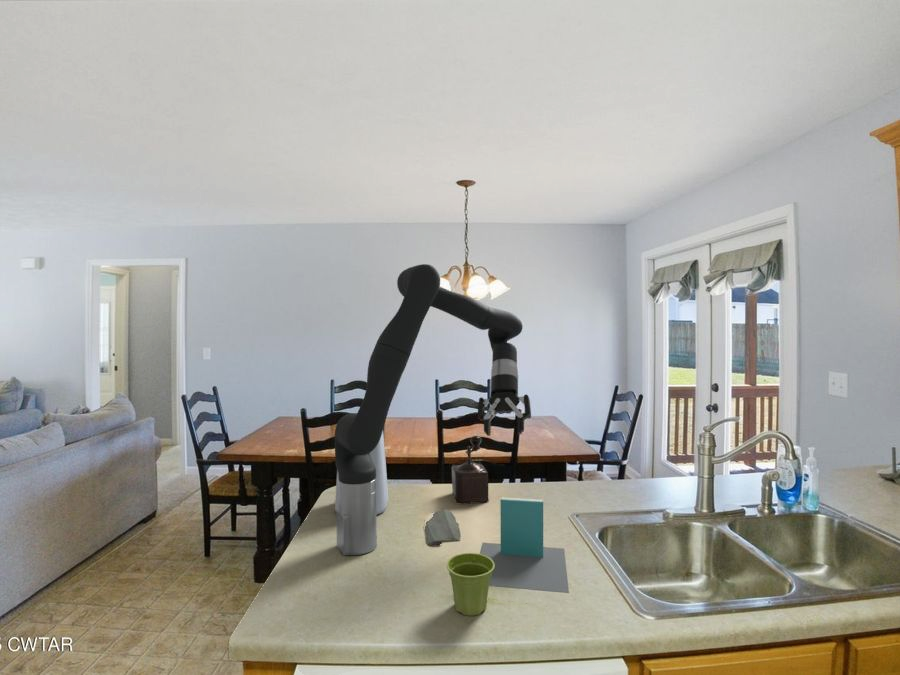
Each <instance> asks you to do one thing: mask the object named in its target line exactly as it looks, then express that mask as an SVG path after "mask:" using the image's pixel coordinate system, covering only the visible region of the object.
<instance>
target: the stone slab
mask: <svg viewBox="0 0 900 675" xmlns="http://www.w3.org/2000/svg"><path fill="white" fill-rule="evenodd" d="M434 512H435V513H434V514H433V517H432V518H431V519H430V520H429V521H427V522H426V526H425V525H424V526H425V532H424V533H426V534H427V535H426V534H425V535H426V536H425V539H426V543H427V544H428V545H429V546H432V545H437V546H441V545H442V544H443V543H446V542H447V543H449V542H461V537H462V535H461V530H460V523H458V522H457V519H456V516H455V515H454V513H453V511H451V510H449V509H445V508H444V509H443V508H442V509H439V510H436V511H434ZM440 544H441V545H440Z"/></svg>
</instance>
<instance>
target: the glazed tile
mask: <svg viewBox="0 0 900 675" xmlns="http://www.w3.org/2000/svg"><path fill="white" fill-rule="evenodd" d="M499 502H500V544H501V554H507V555H520V556H532V557H543V547H544V499H539V498H538V499H534V498H518V497H517V498H515V497H501V496H500V500H499Z"/></svg>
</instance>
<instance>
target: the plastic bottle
mask: <svg viewBox="0 0 900 675" xmlns="http://www.w3.org/2000/svg"><path fill="white" fill-rule="evenodd" d="M385 450H386V449H385V436H384V431H383V432H382V435H381V438H380V441H379V443H378V445H377V446H376V447H375V449H374V450H373V451H372V452H370V456H371V459H372V462H373V464H374V465H375V468H376V516H377V515H381V514H383V513H384V512H385V511H386V509H387V505H388V503H389V490H388V488H389V486H388V477H387V476H388V473H387V464H386V463H387V461H386V451H385ZM334 503H335V504H334V511H335V512H336V510H337V509H338V508H339V476H338V471H337V470H336V487H335V500H334Z"/></svg>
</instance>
